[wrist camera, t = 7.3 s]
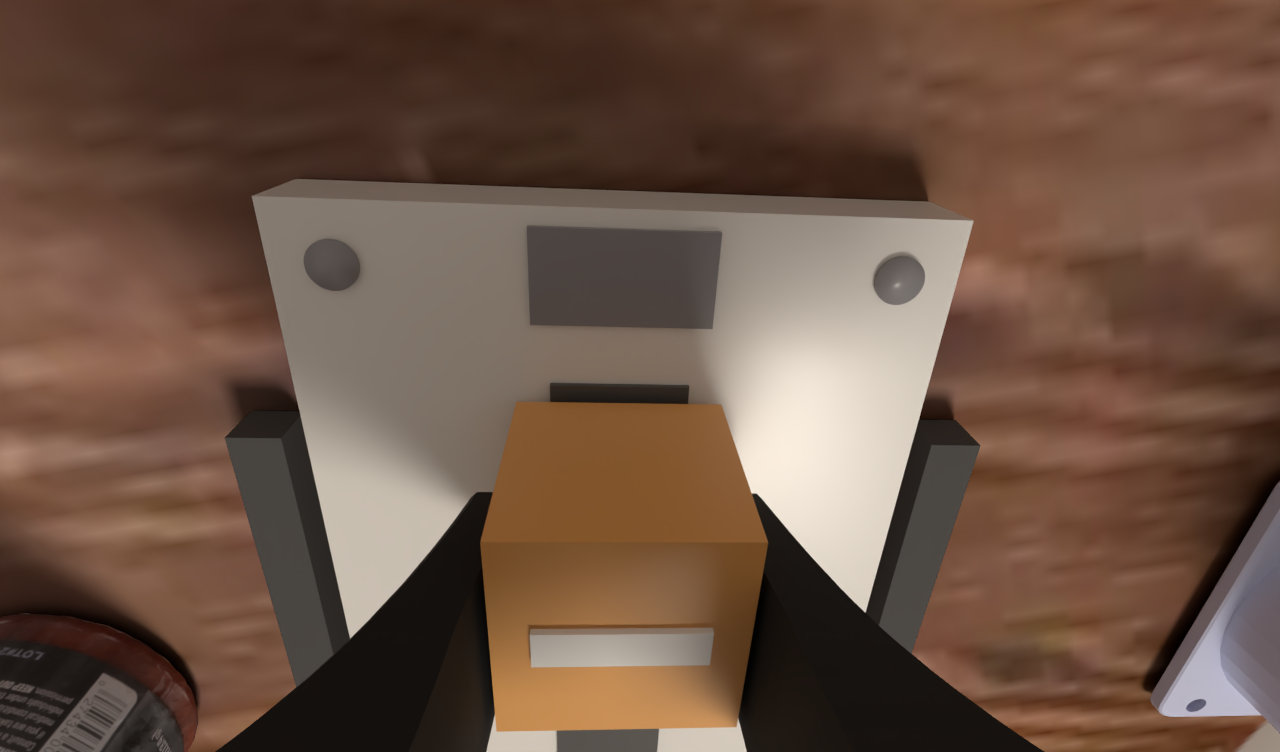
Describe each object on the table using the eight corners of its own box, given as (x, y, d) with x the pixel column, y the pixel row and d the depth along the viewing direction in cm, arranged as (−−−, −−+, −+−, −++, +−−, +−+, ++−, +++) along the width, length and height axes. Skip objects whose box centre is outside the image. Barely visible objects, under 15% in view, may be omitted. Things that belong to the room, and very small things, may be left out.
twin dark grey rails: (955, 420, 13) (980, 445, 13) (876, 678, 17) (891, 712, 16) (251, 410, 13) (224, 437, 12) (323, 685, 16) (306, 722, 15)
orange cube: (721, 405, 11) (769, 547, 8) (703, 560, 13) (737, 733, 9) (516, 401, 11) (479, 548, 8) (524, 560, 12) (495, 738, 9)
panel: (930, 201, 11) (977, 221, 10) (789, 782, 19) (804, 841, 18) (296, 178, 11) (248, 197, 9) (412, 791, 18) (395, 853, 17)
